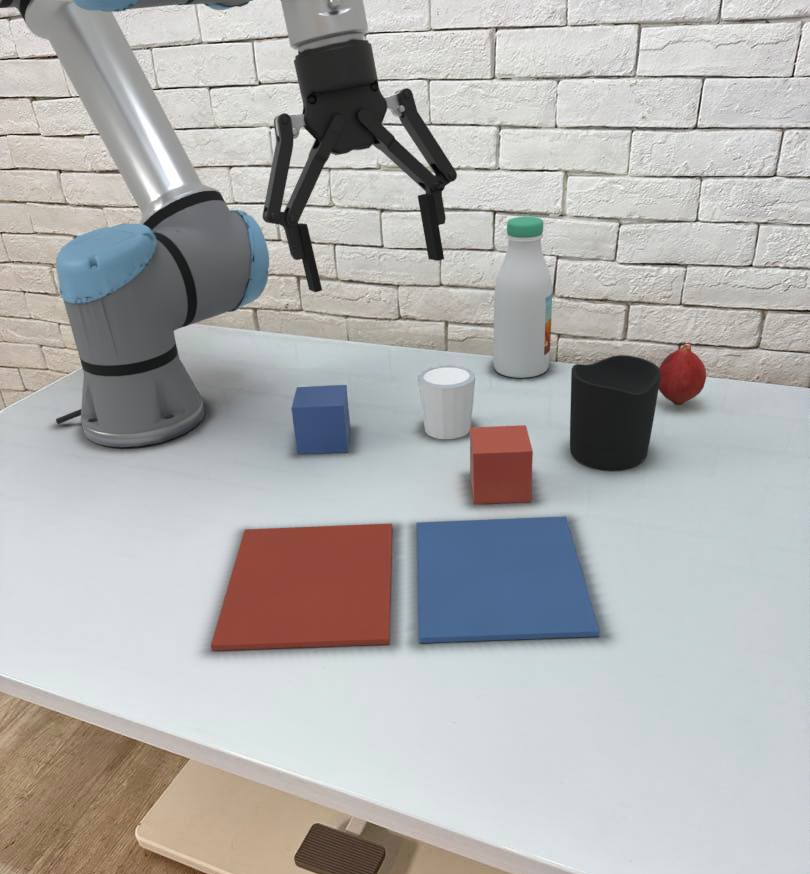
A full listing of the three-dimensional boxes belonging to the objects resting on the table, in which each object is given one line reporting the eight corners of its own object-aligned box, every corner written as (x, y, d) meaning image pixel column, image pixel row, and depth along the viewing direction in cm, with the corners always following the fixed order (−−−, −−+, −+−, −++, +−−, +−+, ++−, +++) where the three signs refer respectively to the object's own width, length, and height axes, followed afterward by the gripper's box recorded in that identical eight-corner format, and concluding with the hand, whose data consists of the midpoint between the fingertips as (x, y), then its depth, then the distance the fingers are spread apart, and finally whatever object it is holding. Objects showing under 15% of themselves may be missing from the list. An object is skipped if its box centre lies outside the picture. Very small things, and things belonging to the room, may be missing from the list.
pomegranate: (650, 411, 106) (657, 349, 101) (657, 393, 110) (664, 333, 106) (698, 417, 104) (708, 354, 99) (703, 398, 108) (713, 337, 104)
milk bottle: (534, 383, 115) (540, 229, 104) (483, 373, 118) (484, 224, 107) (558, 363, 120) (565, 215, 109) (508, 354, 124) (511, 210, 113)
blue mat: (419, 643, 71) (418, 637, 71) (417, 527, 86) (416, 522, 86) (599, 636, 71) (599, 631, 71) (565, 521, 86) (565, 516, 86)
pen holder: (646, 477, 92) (657, 391, 87) (559, 467, 95) (564, 384, 90) (654, 439, 100) (664, 357, 94) (573, 431, 102) (578, 351, 97)
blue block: (297, 454, 101) (291, 407, 98) (302, 431, 106) (296, 386, 103) (347, 452, 101) (343, 405, 97) (350, 429, 106) (346, 384, 102)
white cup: (471, 443, 101) (471, 388, 97) (414, 440, 102) (412, 386, 99) (479, 418, 107) (479, 365, 103) (425, 415, 108) (423, 363, 104)
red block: (473, 504, 90) (473, 453, 86) (470, 476, 95) (469, 427, 91) (531, 501, 89) (532, 451, 86) (524, 474, 94) (525, 424, 91)
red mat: (211, 650, 72) (210, 645, 72) (245, 534, 87) (244, 529, 87) (389, 644, 71) (388, 638, 71) (392, 528, 86) (392, 523, 86)
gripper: (206, 64, 74) (269, 308, 83) (466, 15, 80) (499, 248, 89) (196, 74, 81) (256, 299, 90) (437, 29, 86) (470, 245, 96)
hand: (377, 274), depth 89 cm, fingers open, 13 cm apart
